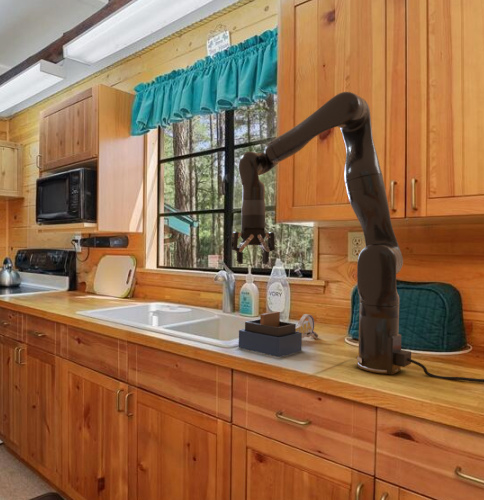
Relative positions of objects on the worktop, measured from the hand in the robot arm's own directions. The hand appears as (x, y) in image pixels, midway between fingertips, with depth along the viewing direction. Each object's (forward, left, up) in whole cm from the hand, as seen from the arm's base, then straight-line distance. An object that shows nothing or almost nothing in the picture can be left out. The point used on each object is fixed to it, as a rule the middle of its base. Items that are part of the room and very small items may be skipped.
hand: (252, 263), depth 142 cm
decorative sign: (-9, -15, -26) cm, 32 cm away
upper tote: (-9, +4, -26) cm, 28 cm away
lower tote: (-9, +4, -26) cm, 28 cm away
